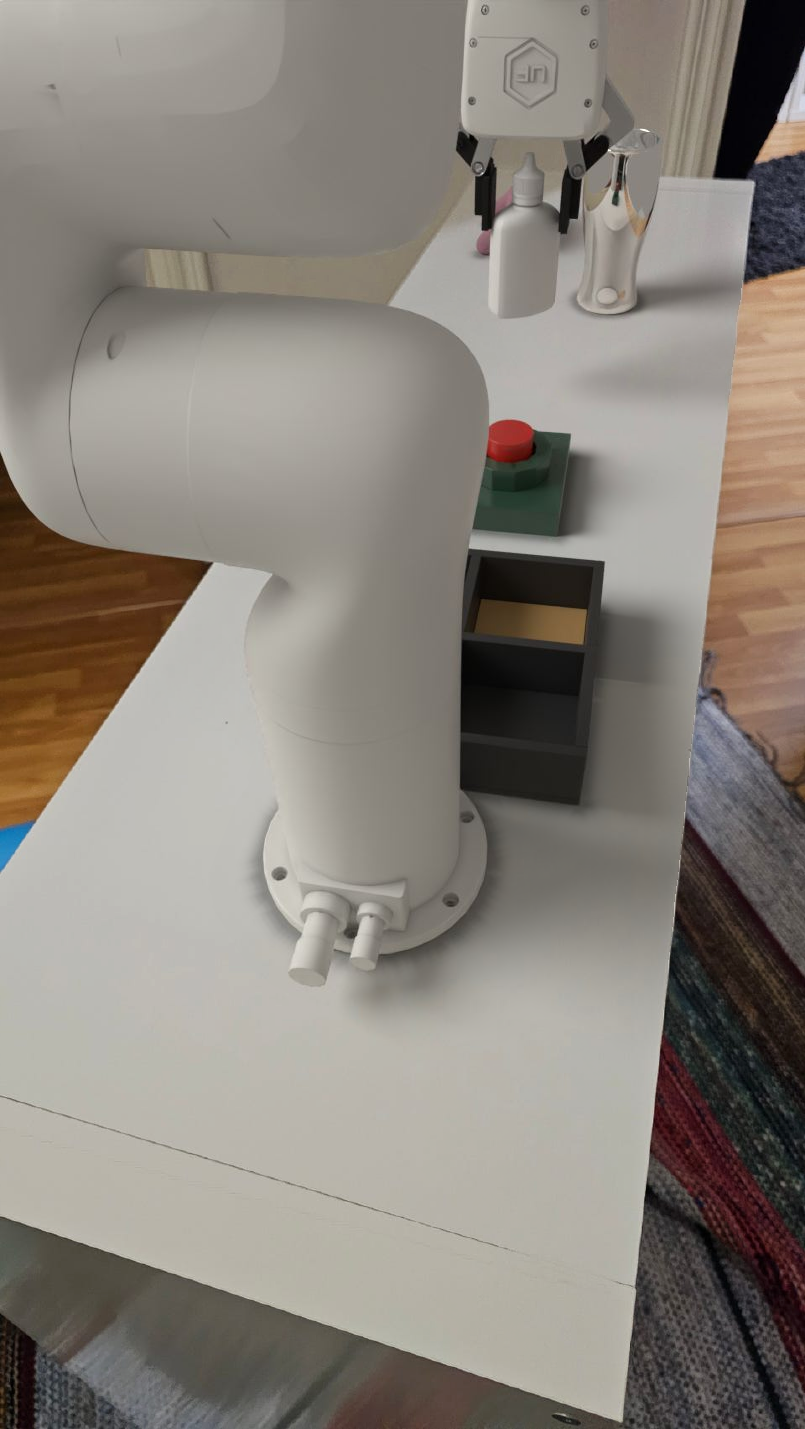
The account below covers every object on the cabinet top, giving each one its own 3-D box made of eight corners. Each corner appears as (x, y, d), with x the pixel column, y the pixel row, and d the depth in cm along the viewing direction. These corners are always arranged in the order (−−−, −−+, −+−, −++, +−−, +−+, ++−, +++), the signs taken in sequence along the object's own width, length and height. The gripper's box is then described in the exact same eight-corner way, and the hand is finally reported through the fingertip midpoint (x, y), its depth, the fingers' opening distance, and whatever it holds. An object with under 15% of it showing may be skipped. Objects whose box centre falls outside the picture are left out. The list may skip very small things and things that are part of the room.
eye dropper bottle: (489, 297, 84) (494, 144, 75) (554, 298, 83) (567, 144, 74) (486, 320, 81) (491, 163, 72) (554, 321, 80) (567, 163, 71)
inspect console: (557, 537, 73) (561, 493, 70) (440, 527, 75) (440, 483, 72) (568, 456, 80) (573, 413, 77) (462, 448, 82) (462, 405, 79)
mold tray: (578, 806, 56) (587, 756, 53) (299, 768, 59) (289, 719, 56) (597, 611, 67) (605, 560, 64) (361, 587, 70) (356, 537, 67)
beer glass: (621, 281, 101) (642, 121, 90) (653, 309, 97) (679, 145, 86) (561, 293, 100) (575, 132, 89) (590, 322, 96) (609, 157, 84)
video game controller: (507, 272, 107) (539, 214, 102) (471, 251, 106) (502, 192, 101) (518, 235, 114) (548, 179, 108) (484, 216, 113) (513, 158, 108)
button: (529, 466, 73) (531, 446, 72) (482, 463, 74) (483, 443, 73) (534, 440, 76) (536, 420, 74) (489, 437, 76) (490, 417, 75)
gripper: (404, -50, 62) (412, 240, 76) (674, -51, 60) (633, 250, 73) (425, -70, 67) (429, 205, 81) (675, -73, 65) (636, 213, 78)
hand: (526, 224), depth 77 cm, fingers closed on eye dropper bottle, 5 cm apart
